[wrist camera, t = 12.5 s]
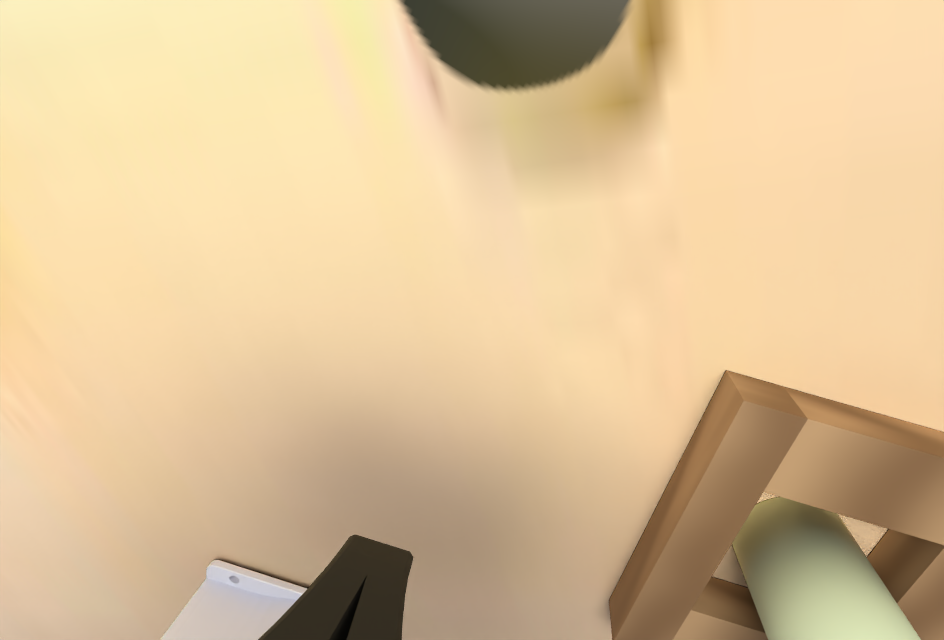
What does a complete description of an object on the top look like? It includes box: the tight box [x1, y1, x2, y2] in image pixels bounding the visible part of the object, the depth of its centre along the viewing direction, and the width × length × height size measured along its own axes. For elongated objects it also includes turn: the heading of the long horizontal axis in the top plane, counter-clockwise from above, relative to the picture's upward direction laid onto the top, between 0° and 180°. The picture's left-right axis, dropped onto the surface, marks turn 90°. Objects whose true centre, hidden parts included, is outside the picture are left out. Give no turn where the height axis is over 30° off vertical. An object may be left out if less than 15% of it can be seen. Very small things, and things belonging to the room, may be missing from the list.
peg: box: [732, 497, 921, 640], centre depth 17 cm, size 4×4×8 cm
